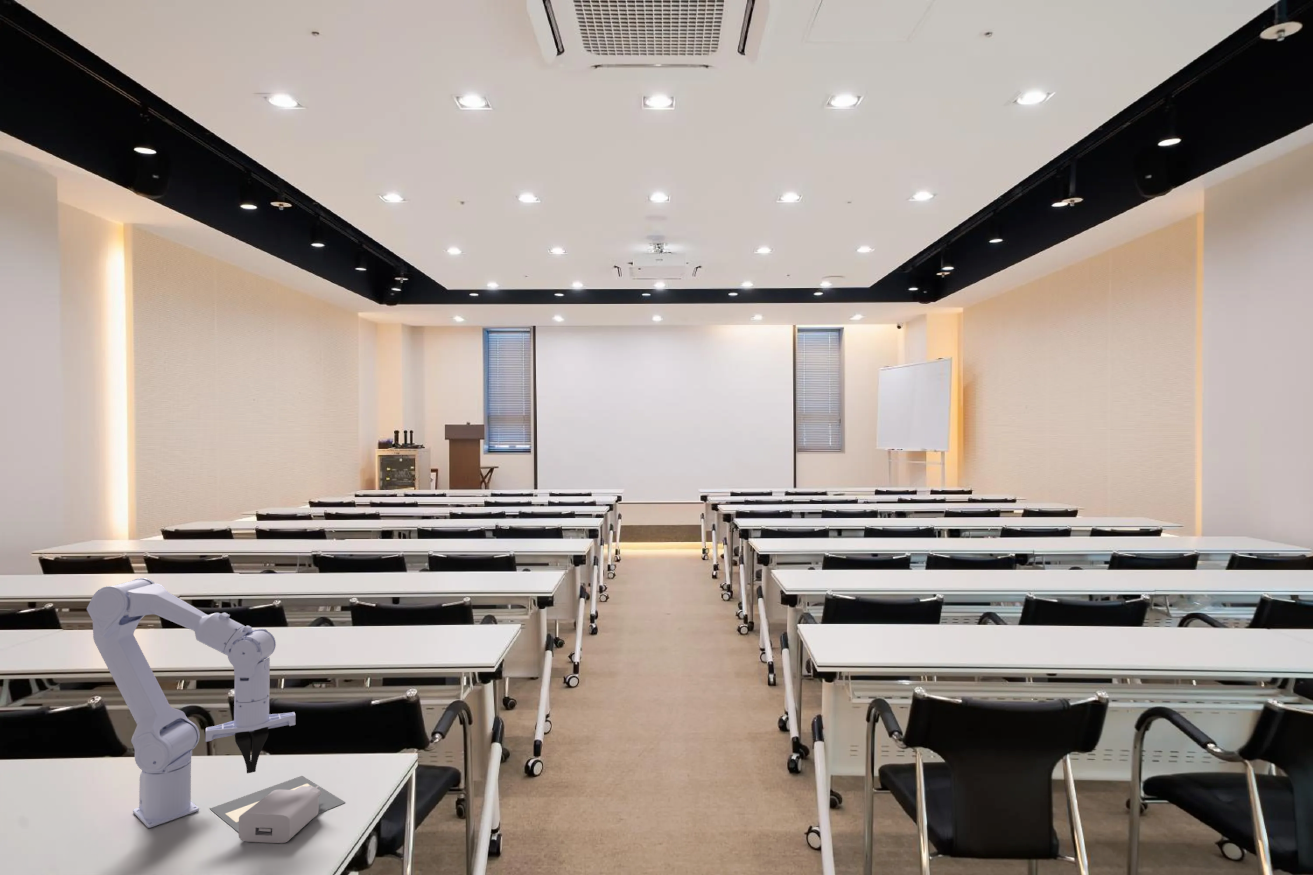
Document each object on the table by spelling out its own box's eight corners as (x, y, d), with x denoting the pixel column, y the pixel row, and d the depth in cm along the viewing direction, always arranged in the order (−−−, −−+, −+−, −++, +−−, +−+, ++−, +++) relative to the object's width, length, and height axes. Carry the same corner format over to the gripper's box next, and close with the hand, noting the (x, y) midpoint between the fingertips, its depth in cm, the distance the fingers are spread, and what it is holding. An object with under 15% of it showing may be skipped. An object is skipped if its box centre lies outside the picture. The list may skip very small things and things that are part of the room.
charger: (336, 800, 133) (289, 843, 118) (291, 798, 134) (238, 841, 119) (337, 775, 134) (289, 815, 119) (291, 773, 134) (238, 813, 119)
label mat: (209, 808, 130) (209, 807, 130) (302, 775, 144) (302, 775, 144) (249, 841, 119) (249, 840, 119) (345, 802, 133) (345, 801, 133)
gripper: (293, 684, 138) (292, 753, 137) (206, 698, 130) (205, 771, 129) (296, 694, 132) (296, 767, 131) (205, 710, 124) (204, 787, 123)
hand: (251, 770), depth 130 cm, fingers closed
